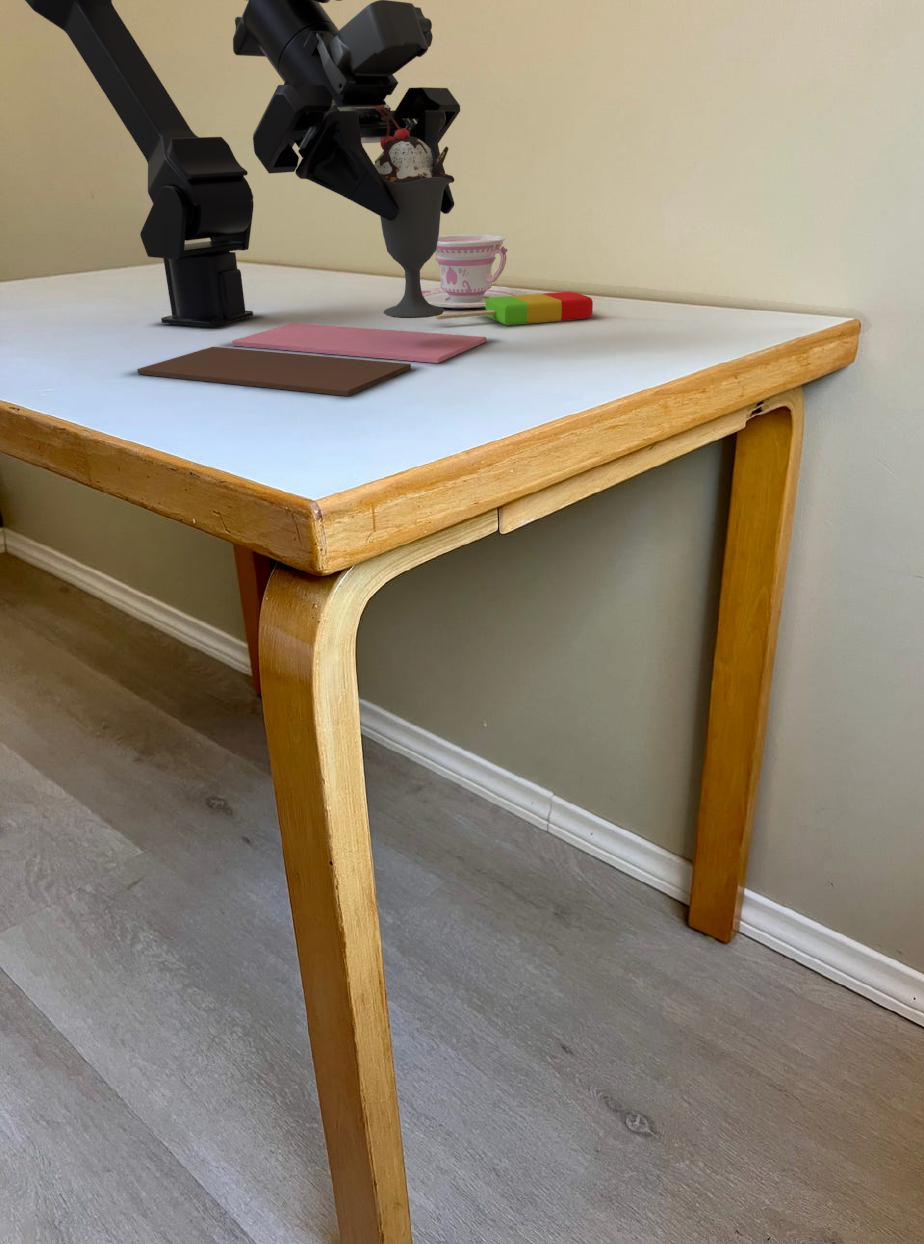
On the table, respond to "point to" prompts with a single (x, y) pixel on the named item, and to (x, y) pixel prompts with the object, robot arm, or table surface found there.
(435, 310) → the sundae
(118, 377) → the table surface
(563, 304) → the popsicle
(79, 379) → the table surface
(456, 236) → the teacup
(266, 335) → the pink mat
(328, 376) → the brown mat
